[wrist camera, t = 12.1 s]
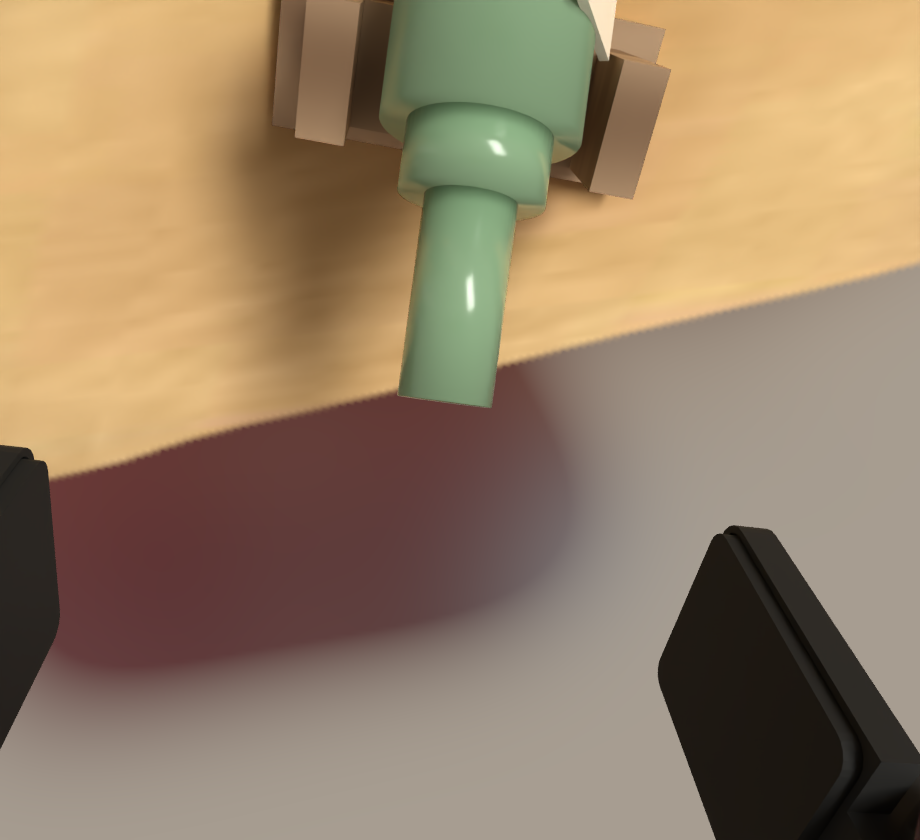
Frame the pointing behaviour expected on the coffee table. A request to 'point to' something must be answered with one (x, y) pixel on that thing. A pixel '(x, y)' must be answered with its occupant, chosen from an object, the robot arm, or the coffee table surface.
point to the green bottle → (479, 161)
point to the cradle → (362, 73)
